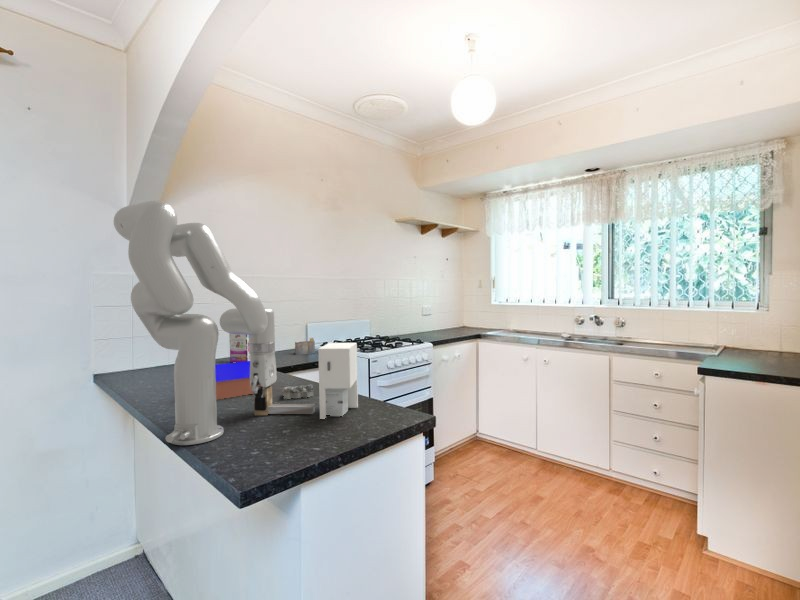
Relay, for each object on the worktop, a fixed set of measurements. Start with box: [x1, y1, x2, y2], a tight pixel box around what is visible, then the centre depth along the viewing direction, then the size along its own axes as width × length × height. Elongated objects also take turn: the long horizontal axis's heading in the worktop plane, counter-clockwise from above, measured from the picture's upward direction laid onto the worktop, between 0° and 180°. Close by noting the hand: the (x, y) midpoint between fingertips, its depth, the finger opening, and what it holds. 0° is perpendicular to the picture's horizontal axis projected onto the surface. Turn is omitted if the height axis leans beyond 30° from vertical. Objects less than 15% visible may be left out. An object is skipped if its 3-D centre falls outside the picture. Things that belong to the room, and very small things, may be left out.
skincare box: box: [326, 388, 349, 417], centre depth 121 cm, size 6×6×7 cm
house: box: [215, 361, 261, 401], centre depth 148 cm, size 12×20×12 cm, turn 125°
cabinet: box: [318, 342, 359, 420], centre depth 121 cm, size 14×9×20 cm, turn 177°
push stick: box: [253, 385, 316, 416], centre depth 122 cm, size 4×18×8 cm, turn 87°
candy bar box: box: [229, 333, 251, 363], centre depth 215 cm, size 11×5×16 cm, turn 73°
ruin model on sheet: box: [294, 337, 316, 356], centre depth 243 cm, size 11×3×10 cm, turn 118°
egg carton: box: [282, 383, 315, 400], centre depth 142 cm, size 11×8×4 cm
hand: (263, 407), depth 123 cm, fingers closed on push stick, 4 cm apart
